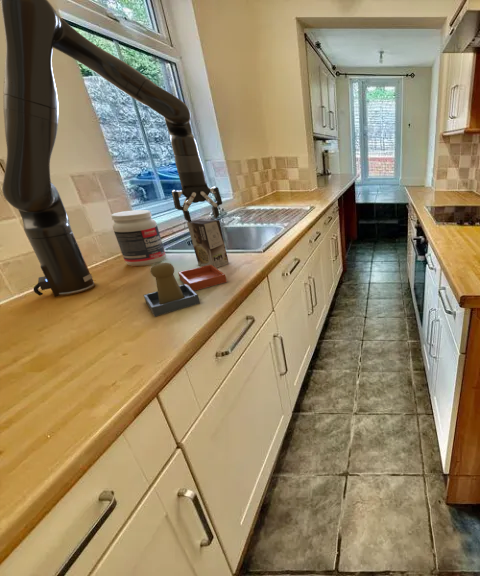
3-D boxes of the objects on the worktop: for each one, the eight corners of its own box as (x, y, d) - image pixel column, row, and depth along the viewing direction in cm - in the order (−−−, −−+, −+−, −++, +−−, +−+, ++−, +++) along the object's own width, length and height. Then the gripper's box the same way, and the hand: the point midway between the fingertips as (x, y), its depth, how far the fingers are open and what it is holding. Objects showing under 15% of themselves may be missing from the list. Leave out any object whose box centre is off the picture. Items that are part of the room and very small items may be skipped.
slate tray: (154, 316, 81) (151, 307, 80) (146, 303, 88) (143, 294, 87) (200, 303, 88) (197, 294, 87) (188, 291, 95) (186, 283, 94)
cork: (176, 306, 85) (164, 268, 81) (154, 306, 85) (141, 268, 81) (189, 296, 91) (179, 260, 86) (168, 296, 91) (157, 260, 86)
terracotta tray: (191, 291, 95) (189, 283, 94) (179, 279, 104) (177, 272, 103) (226, 282, 102) (225, 274, 101) (212, 271, 110) (211, 264, 109)
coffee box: (229, 263, 118) (220, 220, 111) (214, 269, 113) (204, 223, 106) (212, 260, 121) (202, 217, 115) (197, 265, 116) (185, 221, 109)
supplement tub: (163, 264, 117) (148, 214, 109) (121, 269, 112) (102, 217, 105) (170, 254, 128) (156, 208, 120) (131, 258, 123) (114, 211, 116)
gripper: (210, 168, 110) (220, 215, 117) (162, 171, 101) (177, 221, 108) (217, 169, 105) (228, 218, 112) (168, 172, 97) (183, 225, 103)
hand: (203, 219), depth 110 cm, fingers open, 8 cm apart
